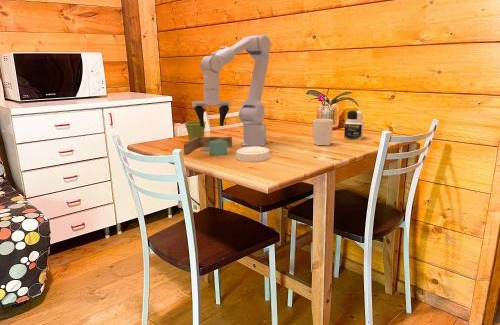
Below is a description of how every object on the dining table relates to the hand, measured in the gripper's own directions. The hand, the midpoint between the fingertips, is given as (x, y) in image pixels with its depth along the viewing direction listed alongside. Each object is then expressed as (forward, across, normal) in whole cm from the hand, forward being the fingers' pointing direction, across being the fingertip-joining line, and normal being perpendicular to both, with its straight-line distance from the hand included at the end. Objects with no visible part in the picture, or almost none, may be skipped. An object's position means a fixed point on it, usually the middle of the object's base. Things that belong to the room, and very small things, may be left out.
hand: (211, 126), depth 142 cm
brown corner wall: (+10, +1, +7) cm, 12 cm away
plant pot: (+10, +1, +26) cm, 28 cm away
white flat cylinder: (+11, +11, -13) cm, 21 cm away
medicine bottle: (+7, +63, -4) cm, 64 cm away
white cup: (+8, +45, -7) cm, 47 cm away
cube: (+11, +2, -1) cm, 11 cm away
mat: (+10, +2, +8) cm, 13 cm away
